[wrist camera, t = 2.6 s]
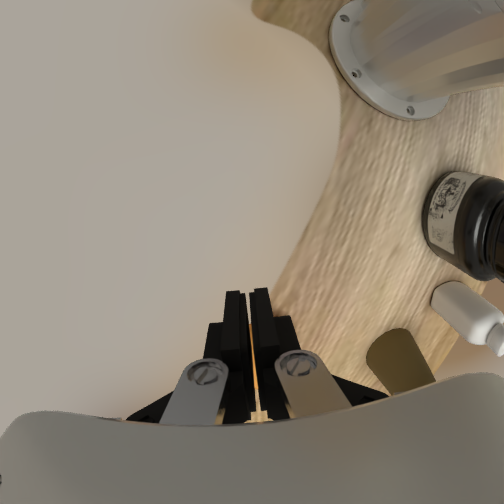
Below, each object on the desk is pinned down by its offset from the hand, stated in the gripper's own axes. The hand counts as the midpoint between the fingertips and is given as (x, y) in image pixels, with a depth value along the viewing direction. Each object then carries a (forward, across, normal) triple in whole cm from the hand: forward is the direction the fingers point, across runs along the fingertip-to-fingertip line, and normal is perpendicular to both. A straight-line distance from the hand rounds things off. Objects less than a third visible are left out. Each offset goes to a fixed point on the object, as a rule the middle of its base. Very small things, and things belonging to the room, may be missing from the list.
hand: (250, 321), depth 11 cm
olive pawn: (+12, -15, +14) cm, 23 cm away
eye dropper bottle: (+11, -22, +8) cm, 26 cm away
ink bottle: (+11, -21, -1) cm, 23 cm away
